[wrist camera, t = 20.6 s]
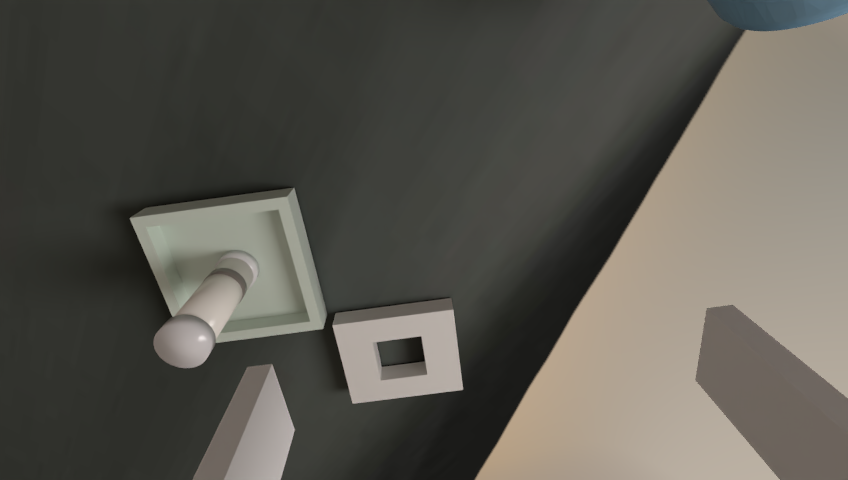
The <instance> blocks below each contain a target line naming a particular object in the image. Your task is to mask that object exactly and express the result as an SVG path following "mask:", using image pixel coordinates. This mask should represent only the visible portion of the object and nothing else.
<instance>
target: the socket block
mask: <svg viewBox="0 0 848 480" xmlns="http://www.w3.org/2000/svg"><path fill="white" fill-rule="evenodd" d="M332 326H333V330H334V333H335V337H336V341H337V345H338V349H339V353H340V357H341V360H342V364H343V368H344V372H345V376H346V380H347V383H348V387H349V391H350V395H351V399H352V403H353V404H354V403H362V402H370V401H378V400H386V399H394V398H402V397H410V396H418V395H426V394H433V393H441V392H449V391H457V390H463V385H462V377H461V369H460V361H459V352H458V344H457V336H456V328H455V320H454V311H453V305H452V299H451V298H447V299H440V300H432V301H424V302H417V303H409V304H401V305H394V306H386V307H378V308H371V309H363V310H355V311H348V312H340V313H335V317H334V321H333V325H332ZM419 336H421V338H422V344H423V350H424V356H425V362H417V363H409V364H401V365H393V366H385V367H382V366H381V361H380V356H379V352H378V347H377V342H380V341H388V340H396V339H404V338H411V337H419Z"/></svg>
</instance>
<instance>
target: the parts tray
mask: <svg viewBox="0 0 848 480" xmlns="http://www.w3.org/2000/svg"><path fill="white" fill-rule="evenodd" d="M130 220H131V223H132V225H133V227H134V230H135V232H136V234H137V236H138V239H139V241H140V243H141V246H142V248H143V250H144V253H145V255H146V257H147V259H148V262H149V264H150V266H151V269H152V271H153V273H154V276H155V278H156V280H157V282H158V285H159V287H160V289H161V292H162V294H163V296H164V299H165V301H166V303H167V305H168V308H169V310H170V312H171V315H172V317H174V316H175V315H176V314H177V312H178V311H179V310H180V309H181V308H182V306H183V305H184V304H185V303H186V302H187V300H188V299H189V298H190V297H191V296H192V294H193V293H194V292H195V291H196V290H197V289H198V287H199V286H200V285H201V284H202V283H203V281H204V279H205V278H206V277H207V276H208V275H209V273H211V272H212V271H213V270H214V267H215V265H216V263H217V262H218V261H219V259H220V258H221V257H222V256H223V255H224V254H225V253H227V252H229V251H232V250H242V251H245V252H247V253H249V254H251V255H252V256H253V257H254V258H255V259H256V260H257V262H258V264H259V267H260V273H259V276H258V278H257V279H256V281H255V282H254V284H253V285H252V287H250V288H249V289H248V290H247V292H246V294H245V296H244V297H243V299H242V300H241V302H240V303H239V304H238V306H237V307H236V309H235V310H234V312H233V313H232V315H231V317H230V318H229V320H228V321H227V323H226V324H225V326H224V328H223V329H222V331H221V332H220V334H219V335H218V337H217V339H216V343H219V342H226V341H234V340H242V339H249V338H257V337H265V336H273V335H280V334H288V333H296V332H303V331H311V330H319V329H323V327H324V324H325V321H326V317H327V311H326V307H325V303H324V299H323V296H322V292H321V288H320V284H319V280H318V277H317V273H316V269H315V265H314V261H313V258H312V254H311V250H310V246H309V242H308V238H307V235H306V231H305V227H304V223H303V219H302V216H301V212H300V208H299V204H298V200H297V196H296V193H295V189H294V188H287V189H279V190H272V191H265V192H257V193H250V194H243V195H235V196H228V197H221V198H214V199H206V200H199V201H192V202H184V203H177V204H170V205H162V206H155V207H148V208H144V209H143V210H141V211H140V212H138V213H137V214H135V215H134V216H132V217H130Z"/></svg>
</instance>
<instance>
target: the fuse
mask: <svg viewBox="0 0 848 480" xmlns="http://www.w3.org/2000/svg"><path fill="white" fill-rule="evenodd" d="M259 273H260V267H259V264H258V262H257V260H256V259H255V258H254V257H253V256H252V255H251V254H249V253H247V252H245V251H242V250H232V251H229V252H227V253H225V254H224V255H223V256H222V257H221V258H220V259H219V261H218V262H217V263H216V265H215V267H214V270H213V271H212V272H211V273H209V275H208V276H207V277H206V278H205V279H204V281H203V283H202V284H201V285H200V286H199V287H198V289H197V290H196V291H195V292H194V293H193V294H192V296H191V297H190V298H189V299H188V300H187V302H186V303H185V304H184V305H183V306H182V308H181V309H180V310H179V311H178V312H177V314H176V315H175V316H174V317H172V318H170V319H169V320H168V321H167V322H166V323H165V324H164V325H163V326H162V327H161V329H160V330H159V331H158V332H157V333H156V335H155V337H154V348H155V351H156V352H157V354H158V355H159V356H160V357H161V358H162V359H163V360H164V361H165V362H167V363H169V364H171V365H173V366H176V367H180V368H193V367H196V366H199V365H201V364H202V363H203V362H204V361H205V360H206V359H207V357H208V356H209V354H210V352H211V351H212V349H213V348H214V346H215V343H216V339H217V337H218V335H219V334H220V332H221V331H222V329H223V328H224V326H225V324H226V323H227V321H228V320H229V318H230V317H231V315H232V313H233V312H234V310H235V309H236V307H237V306H238V304H239V303H240V302H241V300H242V299H243V297H244V296H245V294H246V292H247V290H248V289H249V288H250V287H252V285H253V284H254V282H255V281H256V279H257V278H258V276H259Z"/></svg>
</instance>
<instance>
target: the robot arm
mask: <svg viewBox="0 0 848 480" xmlns="http://www.w3.org/2000/svg"><path fill="white" fill-rule="evenodd" d="M707 1H708V2H709V3H710V5H711V6H712V8H713V9H714V10H715V12H716V13H717V15H718V16H719V17H720V18H721V19H723V20H724V21H727V22H728V23H730V24H732V25H733V26H735V27H739V28H741V29H745V30H753V31H777V30H785V29H791V28H797V27H802V26H806V25H811V24H814V23H818V22H822V21H825V20H829V19H832V18H835V17H838V16H840V15H844V14H846V13H848V0H707ZM696 381H697V382H698V384H699V385H700V386H701V387H702V388H703V389H704V391H705V392H706V393H707V394H708V395H709V397H710V398H711V399H712V400H713V401H714V402H715V404H716V405H717V406H718V407H719V408H720V409H721V410H722V412H723V413H724V414H725V415H726V417H727V418H728V419H729V420H730V421H731V422H732V424H733V425H734V426H735V427H736V428H737V429H738V431H739V432H740V433H741V434H742V435H743V437H744V438H745V439H746V440H747V441H748V442H749V444H750V445H751V446H752V447H753V448H754V449H755V451H756V452H757V453H758V454H759V455H760V457H761V458H762V459H763V460H764V461H765V463H766V464H767V465H768V466H769V467H770V468H771V470H772V471H773V472H774V473H775V474H776V476H777V477H778V478H779V479H780V480H848V398H846V397H845V396H844V395H843V394H841V393H840V392H839V391H838V390H836V389H835V388H834V387H833V386H832V385H830V384H829V383H828V382H827V381H826V380H824V379H823V378H822V377H821V376H819V375H818V374H817V373H816V372H814V371H813V370H812V369H811V368H810V367H808V366H807V365H806V364H805V363H803V362H802V361H801V360H800V359H798V358H797V357H796V356H795V355H793V354H792V353H791V352H790V351H789V350H787V349H786V348H785V347H784V346H782V345H781V344H780V343H779V342H778V341H776V340H775V339H774V338H773V337H771V336H770V335H769V334H768V333H767V332H765V331H764V330H763V329H762V328H760V327H759V326H758V325H757V324H756V323H754V322H753V321H752V320H751V319H749V318H748V317H747V316H746V315H744V314H743V313H742V312H741V311H739V310H738V309H737V308H736V307H735V306H733V305H729V306H721V307H713V308H707V311H706V317H705V323H704V330H703V336H702V343H701V348H700V355H699V361H698V368H697V374H696ZM294 431H295V429H294V427H293V424H292V421H291V418H290V415H289V412H288V409H287V406H286V403H285V400H284V397H283V394H282V392H281V389H280V386H279V383H278V380H277V377H276V374H275V371H274V368H273V365H272V364H269V365H261V366H253V367H247V369H246V371H245V373H244V375H243V377H242V379H241V381H240V383H239V385H238V387H237V389H236V391H235V394H234V396H233V398H232V400H231V402H230V404H229V406H228V408H227V410H226V412H225V414H224V416H223V418H222V420H221V422H220V424H219V426H218V428H217V431H216V433H215V435H214V437H213V439H212V441H211V443H210V445H209V447H208V449H207V451H206V453H205V455H204V457H203V459H202V461H201V463H200V465H199V468H198V470H197V472H196V474H195V476H194V478H193V480H281V476H282V473H283V469H284V466H285V462H286V459H287V455H288V452H289V448H290V445H291V441H292V438H293V434H294Z"/></svg>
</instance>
